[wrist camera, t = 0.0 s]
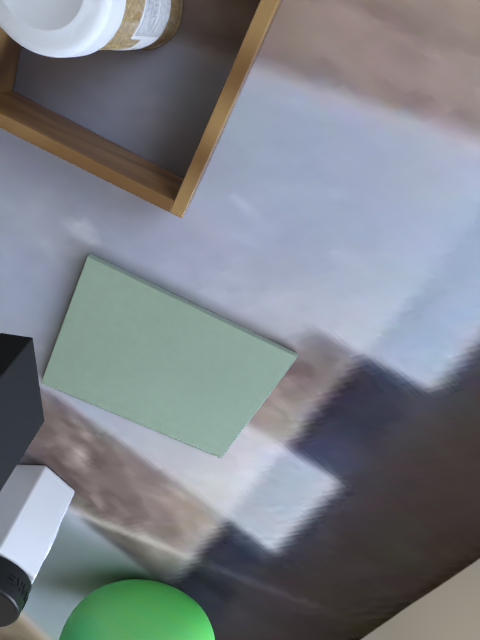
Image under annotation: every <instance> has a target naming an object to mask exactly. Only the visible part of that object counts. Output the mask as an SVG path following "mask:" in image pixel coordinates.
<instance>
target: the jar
mask: <svg viewBox="0 0 480 640" xmlns="http://www.w3.org/2000/svg"><path fill="white" fill-rule="evenodd" d="M73 495H74V490H73V489H72V488H71V487H70V486H69V485H67V484H66V483H65V482H64V481H63V480H62V479H60V478H59V477H58V476H57V475H56V474H55V473H54V472H52V471H51V470H50V469H49V468H48V467H47V466H45V465H19V464H17V466H16V467H15V469H14V470H13V472H12V474H11V475H10V477H9V478H8V480H7V482H6V483H5V485H4V487H3V488H2V490H1V491H0V627H3V626H7V625H10V624H12V623H13V622H15V621H16V620H17V618H18V617H19V615H20V613H21V610H23V608H24V606H25V604H26V602H27V599H28V596H29V593H30V591H31V587H32V584H33V582H34V580H35V578H36V576H37V574H38V572H39V570H40V567H41V565H42V563H43V561H44V560H45V559H46V557H47V555H48V553H49V551H50V549H51V546H52V544H53V542H54V540H55V537H56V535H57V533H58V530H59V526H60V524H61V521H62V519H63V517H64V515H65V513H66V510H67V508H68V506H69V504H70V502H71V499H72V497H73Z"/></svg>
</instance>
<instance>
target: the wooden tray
mask: <svg viewBox="0 0 480 640" xmlns="http://www.w3.org/2000/svg"><path fill="white" fill-rule="evenodd" d="M281 2H282V0H260V2H259V5H258V7H257V9H256V12H255V14H254V16H253V19H252V21H251V23H250V26H249V28H248V30H247V33H246V35H245V37H244V40H243V42H242V44H241V47H240V49H239V51H238V54H237V56H236V58H235V61H234V63H233V65H232V68H231V70H230V72H229V75H228V77H227V79H226V82H225V84H224V86H223V89H222V91H221V93H220V96H219V98H218V100H217V103H216V105H215V107H214V110H213V112H212V114H211V117H210V119H209V121H208V124H207V126H206V128H205V131H204V133H203V135H202V138H201V140H200V142H199V145H198V147H197V149H196V152H195V154H194V156H193V159H192V161H191V163H190V166H189V168H188V170H187V173H186V175H185V177H184V179H183V178H181V177H179V176H177V175H175V174H173V173H171V172H169V171H168V170H166V169H164V168H162V167H160V166H158V165H156V164H154V163H152V162H150V161H148V160H146V159H144V158H142V157H140V156H138V155H136V154H135V153H133V152H131V151H129V150H127V149H125V148H123V147H121V146H119V145H117V144H115V143H113V142H111V141H109V140H107V139H105V138H104V137H102V136H100V135H98V134H96V133H94V132H92V131H90V130H88V129H86V128H84V127H82V126H80V125H78V124H76V123H74V122H72V121H71V120H69V119H67V118H65V117H63V116H61V115H59V114H57V113H55V112H53V111H51V110H49V109H47V108H45V107H43V106H41V105H40V104H38V103H36V102H34V101H32V100H30V99H28V98H26V97H24V96H22V95H20V94H18V93H16V92H14V91H13V86H14V81H15V76H16V71H17V66H18V61H19V56H20V51H21V45H20V44H19V43H17V42H16V41H15V40H13V39H12V38H11V37H10V36H9V35H8V34H7V33H6V32H5V31H4V30H3V29H2V28H1V27H0V128H2V129H4V130H6V131H8V132H10V133H12V134H14V135H16V136H18V137H20V138H22V139H24V140H26V141H28V142H30V143H32V144H34V145H36V146H38V147H40V148H42V149H44V150H46V151H48V152H50V153H52V154H54V155H56V156H58V157H60V158H62V159H64V160H66V161H68V162H70V163H72V164H74V165H76V166H78V167H80V168H82V169H84V170H86V171H88V172H90V173H92V174H94V175H96V176H98V177H100V178H102V179H104V180H106V181H108V182H110V183H112V184H114V185H116V186H118V187H120V188H122V189H124V190H126V191H128V192H130V193H132V194H134V195H136V196H138V197H140V198H142V199H144V200H146V201H148V202H150V203H152V204H154V205H156V206H158V207H160V208H162V209H164V210H166V211H168V212H170V213H172V214H174V215H176V216H178V217H180V218H182V217H183V215H184V213H185V211H186V210H187V208H188V206H189V204H190V202H191V201H192V199H193V197H194V195H195V193H196V190H197V188H198V186H199V184H200V182H201V179H202V177H203V175H204V173H205V170H206V168H207V166H208V164H209V162H210V159H211V157H212V155H213V153H214V150H215V148H216V146H217V144H218V142H219V139H220V137H221V135H222V133H223V130H224V128H225V126H226V124H227V122H228V119H229V117H230V115H231V113H232V110H233V108H234V106H235V104H236V102H237V99H238V97H239V95H240V93H241V90H242V88H243V86H244V84H245V82H246V79H247V77H248V75H249V73H250V70H251V68H252V66H253V64H254V62H255V59H256V57H257V55H258V53H259V51H260V48H261V46H262V44H263V42H264V39H265V37H266V35H267V33H268V31H269V28H270V26H271V24H272V22H273V19H274V17H275V15H276V13H277V11H278V8H279V6H280V4H281Z"/></svg>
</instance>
